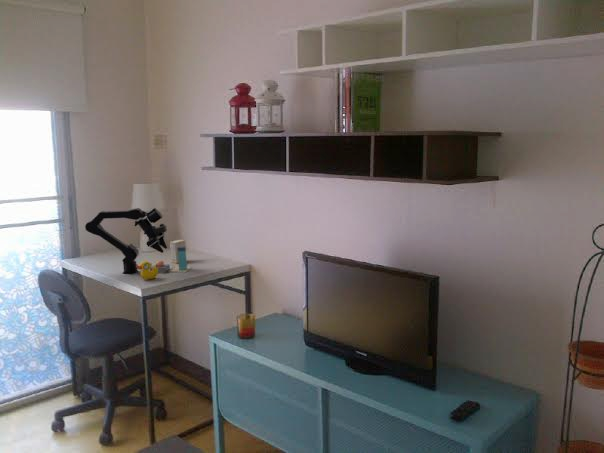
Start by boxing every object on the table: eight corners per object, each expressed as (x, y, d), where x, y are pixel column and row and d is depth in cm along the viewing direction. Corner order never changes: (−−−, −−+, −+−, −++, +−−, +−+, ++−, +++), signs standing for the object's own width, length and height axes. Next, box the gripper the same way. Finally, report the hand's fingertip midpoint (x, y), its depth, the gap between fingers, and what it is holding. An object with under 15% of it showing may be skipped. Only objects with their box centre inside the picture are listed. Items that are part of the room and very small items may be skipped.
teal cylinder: (178, 270, 311) (177, 247, 308) (179, 268, 315) (178, 246, 312) (186, 270, 311) (185, 247, 309) (187, 268, 315) (185, 245, 313)
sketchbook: (167, 271, 309) (166, 271, 309) (174, 267, 319) (174, 266, 319) (185, 272, 307) (185, 271, 307) (192, 267, 317) (192, 267, 317)
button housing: (150, 272, 308) (150, 267, 308) (156, 269, 316) (156, 264, 315) (163, 273, 307) (163, 267, 306) (169, 269, 314) (169, 264, 314)
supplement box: (181, 260, 337) (180, 239, 335) (186, 261, 334) (185, 240, 332) (170, 263, 330) (169, 241, 328) (176, 264, 327) (175, 242, 325)
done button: (154, 268, 309) (154, 262, 309) (158, 266, 313) (157, 260, 313) (162, 268, 308) (161, 262, 308) (165, 266, 313) (164, 260, 312)
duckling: (139, 282, 289) (137, 263, 287) (135, 280, 293) (134, 261, 292) (160, 278, 295) (158, 260, 293) (156, 276, 299) (155, 258, 298)
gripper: (155, 223, 297) (172, 246, 300) (162, 216, 315) (179, 238, 318) (138, 234, 298) (156, 257, 301) (147, 227, 316) (163, 249, 319)
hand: (164, 250), depth 310 cm, fingers open, 9 cm apart
